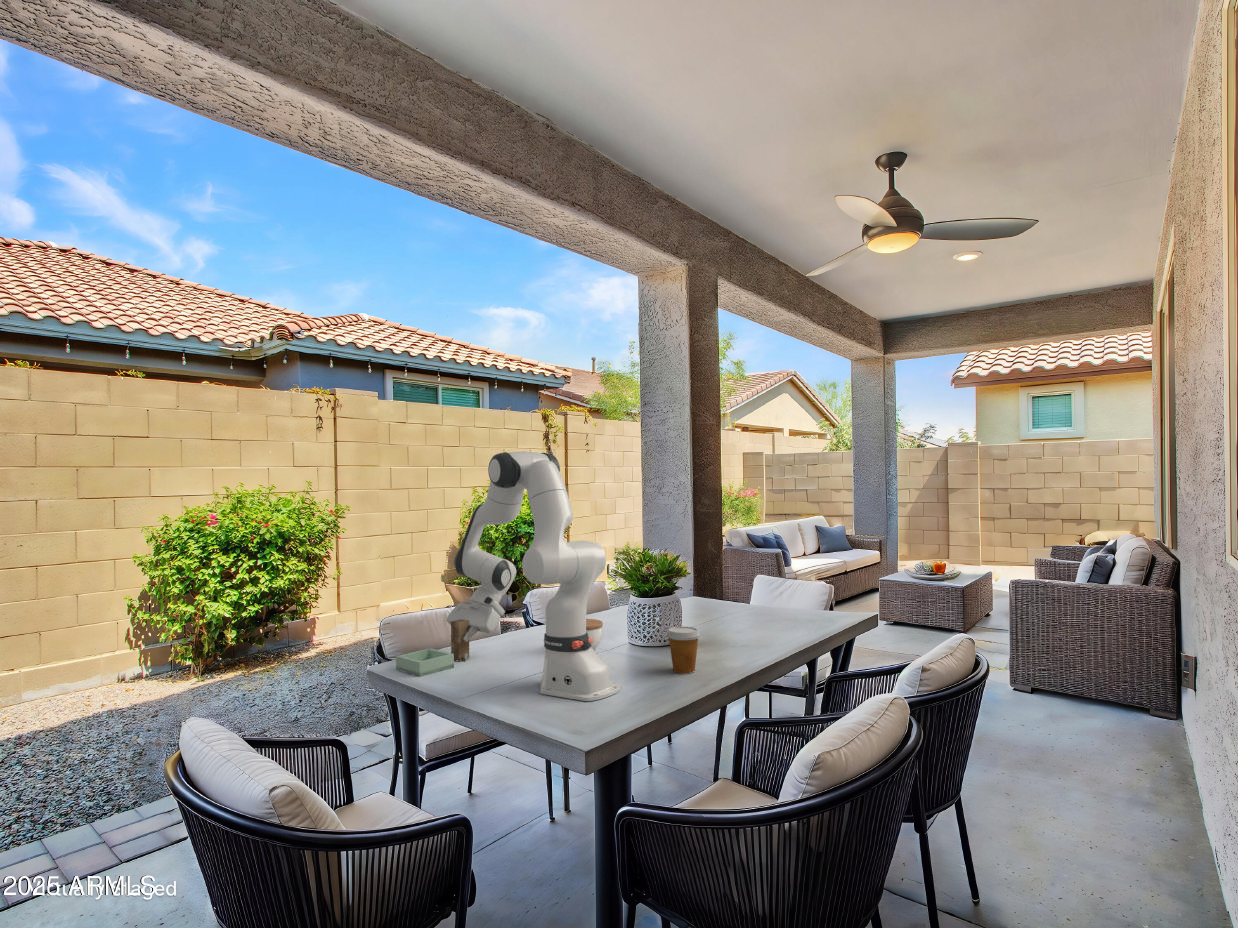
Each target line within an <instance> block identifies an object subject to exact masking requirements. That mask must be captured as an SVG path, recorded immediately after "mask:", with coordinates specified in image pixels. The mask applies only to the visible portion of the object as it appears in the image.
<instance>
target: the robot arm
mask: <svg viewBox="0 0 1238 928" xmlns="http://www.w3.org/2000/svg"><path fill="white" fill-rule="evenodd" d="M487 471H488V477H489V480H490V481H489V486H488V489H487V496H486V499H485V500H484V502H483V503H481V504H479V505H477V506H476V508H475V509H474V511H473V513H472V514H471V518H470V520H469V522H468V525H467V528H466V531H465V532H464V533H465V534H464V537H463V539H462V543H461V546H460V547H459V549H458V551H457V552H456V555H455V557H454V560H453V564H454V565H453V566H454V569H455V571H456V573H457V574H458V575H461V576H462V577H463V576H464V577H466V578H470V579H472V580H474V581H477V582H479V583H481V584H480V585H479V586H478V587H476V589H475V590H474V592H473V594H472V595H471V596H470V598H469V599H468V600H464V601H463V602H460V603H458V604H457V605H455V607H454V608H453V609H452V610H451V611H450V613H449V614H448V615H447V616H446V622H447V623H448V624H449V625H450V626H451V621H456V620H460V619H462V620H467V621H469V623H468V625H469V631H468V632H467V633H466V634H464V635H463V636H462V640H463V641H465V642H468V640H469V641H470V639H471V638H472V637H474V636H475V635H476V634H477V633H478V632H479V633H483V634H490V633H491V632H493V631H494V630H495V628H496V627H497V625H498V624H499V622H500V620H501V617H503V616H504V614H505V613H506V610H504V608H503V606H501V605H500V602H501V600H502V597H503V596H504V595H506V593H507V592H508V590H509V589H510V587H511V585H512V583H513V582H514V580H515V577H516V575H517V569H516V566H515V564H513V562H511V561H510V560H508V559H505V558H502V557H500V556H497V555H494V554H492V553H489V552H487V551H485V550H483V549H481V548H480V547H479V542H480V539H481V537H482V534H483V531H484V529H485V527H486V526H498V525H499V526H500V525H505V524H509V523H511V522H512V521H514V520H515V519H516V518H517V517H518V516H519V515H520V512H521V509H522V503H523V499H524V494H525V492H524V491H525V490H526V492H527V493H526V494H527V499H528V502H529V506H530V509H531V514H532V519H533V523H534V536H533V540H532V543H531V544H530V547H529V548H528V549H527V550H526V552H524V555H523V557H522V562H521V564H522V566H521V567H522V572H523V574H524V576H525V578H526V579H527V581H528V582H530V583H532V584H535V585H537V584H538V585H546V586H549V585H550V586H551V585H558V584H559V588H558V589H557V591H556V593H555V595H554V596H552V597H551V599H549V600H548V601H547V603H546V606H545V632H544V636H543V637H544V639H543V647H544V648H545V655H544V659H543V660H544V661H543V668H542V669H543V670H542V676H541V680H540V684H539V687H540V691H539V693H540V694H542V695H548V696H553V697H560V698H564V699H565V698H566V699H571V700H577V701H582V702H583V701H584V702H591V701H592V702H593V701H598V700H601V699H606V698H608V697H611V696H613V695H615V694H617V693H618V692H619V691H621V684H619V683H617V682H615V681H613V679H612V672H611V668H610V666H609V664H608V663H607V662H606V661H605V660H604V659H603V658H602V657H601V656H600V655H599V654H598V653H597V652H596V650H593V649H592V648H591V642H594V641H591V640H592V639H594V637H593V638H589V636H588V633H587V632H586V619H587V610H588V609H587V607H588V601H589V597H590V594H591V591H592V588H593V586H594V584H595V583H596V580H597V579H598V578H599V577H600V575H601V574H602V573H603V572H604V571H605V568H606V565H607V556H606V552H605V550H604V548H603V547H602V546H601V544H599V543H597V542H593V541H589V540H574V541H566V539H565V530H566V529H567V528H568V527H569V526H570V525H571V523H572V522H573V520H574V519H573V518H574V513H573V508H572V506H571V501H570V498H569V494H568V490H567V488H566V484H565V482H564V480H563V477H562V474H561V466H560V463H559V461H558V458H556V456H555V455H553V454H550V453H547V452H531V451H530V452H529V451H526V450H525V451H512V452H507V451H505V452H500V453H499V452H498V453H496V454H494V455H493V456H492V457H491V459H490V460H489V464H488V470H487Z"/></svg>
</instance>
